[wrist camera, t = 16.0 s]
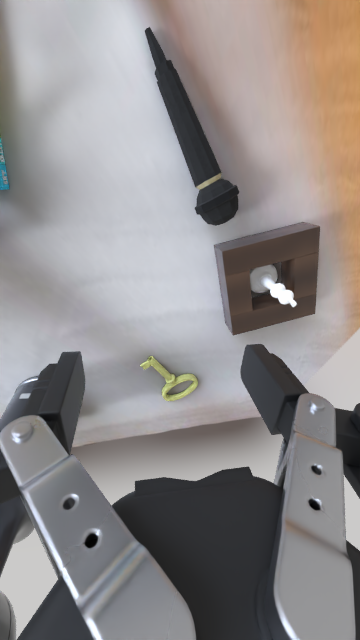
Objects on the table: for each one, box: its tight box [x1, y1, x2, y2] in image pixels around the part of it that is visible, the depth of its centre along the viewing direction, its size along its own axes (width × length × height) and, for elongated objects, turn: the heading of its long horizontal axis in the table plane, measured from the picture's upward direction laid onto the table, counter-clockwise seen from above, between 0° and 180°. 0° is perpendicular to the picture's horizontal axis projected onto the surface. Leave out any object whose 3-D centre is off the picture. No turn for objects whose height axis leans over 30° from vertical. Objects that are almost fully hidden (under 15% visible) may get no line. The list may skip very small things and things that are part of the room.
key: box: [141, 356, 198, 401], centre depth 47 cm, size 7×12×2 cm, turn 51°
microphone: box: [145, 27, 239, 225], centre depth 29 cm, size 6×6×20 cm
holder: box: [214, 222, 320, 335], centre depth 39 cm, size 14×14×4 cm
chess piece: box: [249, 264, 297, 307], centre depth 36 cm, size 5×5×10 cm
